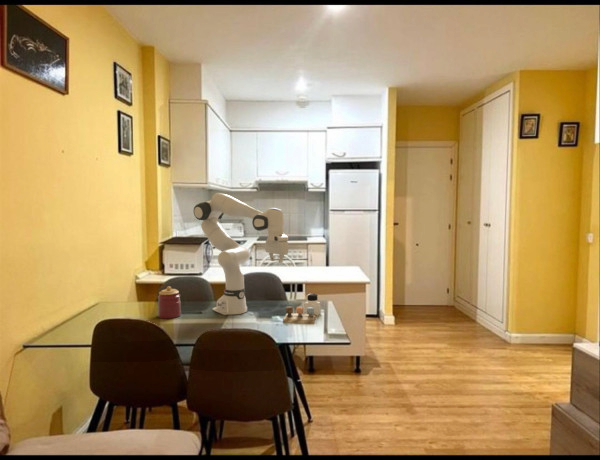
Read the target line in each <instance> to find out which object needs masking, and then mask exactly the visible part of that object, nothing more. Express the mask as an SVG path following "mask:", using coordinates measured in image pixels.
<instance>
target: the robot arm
mask: <svg viewBox="0 0 600 460" xmlns="http://www.w3.org/2000/svg"><path fill="white" fill-rule="evenodd" d="M193 214H194V217H195V218H196V219H197V220H198V221H201V223H200V228H201V229H202V231H203V234H204V235H205V236H206V238H207V239H208V241H210V242H211V244H212V245H213V247H214V248H215V249H216V250H218V251H220V252H219V254H218V256H217V263H218V264H219V266H221V268H222V269H223V273H224V277H225V288H224V289H223V292H224V293H223V295H222V296H221V297H219V298H218V299H217V301H216V306H215V307H213V308H212V311H214V312H216V313H218V314H221V315H223V316H224V315H225V316H228V315H241V314H244V313H246V312H248V306H247V299H246V295H245V294H246V289H245V288H246V287H245V276H244V274H243V273H242V271H241V269H240V266H241V265H243V264H245V263H247V262H248V261H249V259H250V256H251V255H250V251H249V250H248V248H245V247H244V246H242V245H241V244H239V243H238V242H237V241H235V240H234V239H233V238H232V237H231V236H230V235H229V234H228V233H227V232H226V230H225V229H224V227H223V226H222V225H221V224H220V222H219V220H222V218H223V215H226V216H228V217H229V216H230V217H232V218H249V219H251V221H252V222H251V225H252V227H253V229H254V230H256V231H259V232H264V231H265V232H266V231H267V238H266V240H265V247H264V249H265V250H264V251H265V252H266V253H269V254H268V256H269V257H270V258H269V259H270V261H271V262H274V261H275V257H274V254H275V255H278V257H279V258H278V263H280V264H281V263H283V262H284V257H285V256H286V255H288V253H289V242H288V241H289V236H287V235H286V234H285V232H284V231H285V230H284V224H285V223H284V213H283V210H282V209H280V208H276V207H269V208H268V209H267V210H266V211H262V210H260V209H257V208H254V207H252V206H250V205H248V204H247V203H245V202H242V201H241V200H239V199H237V198H235V197H233V196H231V195H229V194H225V193H223V192H215V193H214V194H213V195H212V198H211V199H210V200H206V201H203V202H199V203H197V204H196V205H194V207H193Z"/></svg>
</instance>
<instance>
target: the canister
mask: <svg viewBox="0 0 600 460" xmlns="http://www.w3.org/2000/svg"><path fill="white" fill-rule="evenodd" d="M179 292H180V291H179V290H178V289H176V288H172V286H169V285H168V286H167V287H166V288H164V289H162V290H160V291H159V292H158V294H159V295H158V296H157V299H158V301H157V304H158V305H157V306H158V307H157V310H158V313H157V315H158V317H159V318H160V319H164V320H165V319H167V320H168V319H175V318H179V317H180V316H181V315H182V309H181V308H182V306H181V305H182V304H181V298H180V297H181V294H180V293H179Z"/></svg>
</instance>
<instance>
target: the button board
mask: <svg viewBox="0 0 600 460" xmlns="http://www.w3.org/2000/svg"><path fill="white" fill-rule="evenodd" d="M316 319H317V315H316V314H312V317H309V314H304V313H303V314H302V317H298V314H297V313H295V312H293V313H291V316H290V317H289V316H288V313H286V314H285V315H284V316H283V319H282V322H283V323H286V324H287V323H289V324H315V321H316Z"/></svg>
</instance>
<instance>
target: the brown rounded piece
mask: <svg viewBox="0 0 600 460" xmlns="http://www.w3.org/2000/svg"><path fill="white" fill-rule="evenodd" d="M285 313H286V314H287V313H288V316H289V317H290V316H291V313H294V306H290V305H289V306H286V307H285Z"/></svg>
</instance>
